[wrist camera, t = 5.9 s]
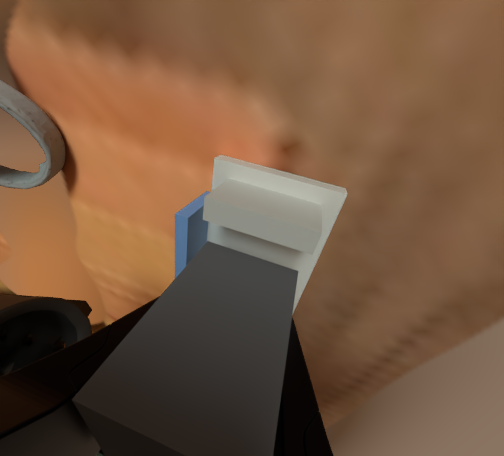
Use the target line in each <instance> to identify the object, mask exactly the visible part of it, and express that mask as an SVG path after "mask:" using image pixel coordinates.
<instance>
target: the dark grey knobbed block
mask: <svg viewBox="0 0 504 456" xmlns="http://www.w3.org/2000/svg"><path fill="white" fill-rule="evenodd" d="M297 277H298V271H297V270H294V269H291V268H288V267H285V266H282V265H279V264H276V263H273V262H270V261H267V260H264V259H261V258H258V257H255V256H252V255H249V254H246V253H242V252H239V251H236V250H233V249H230V248H227V247H224V246H221V245H218V244H215V243H212V242H209V241H207V242H206V244H205V245H204V246H203V247H202V248H201V249H200V251H199V252H198V253H197V254H196V255H195V256H194V258H193V259H192V260H191V261H190V262H189V263H188V265H187V266H186V267H185V268H184V269H183V270H182V272H181V273H180V274H179V275H178V276H177V277H176V279H175V280H174V281H173V282H172V283H171V284H170V286H169V287H168V288H167V289H166V290H165V291H164V293H163V294H162V295H161V296H160V297H159V298H158V300H157V301H156V302H155V303H154V304H153V305H152V307H151V308H150V309H149V310H148V311H147V312H146V314H145V315H144V316H143V317H142V318H141V319H140V321H139V322H138V323H137V324H136V325H135V326H134V328H133V329H132V330H131V331H130V332H129V333H128V335H127V336H126V337H125V338H124V339H123V340H122V342H121V343H120V344H119V345H118V346H117V347H116V349H115V350H114V351H113V352H112V353H111V354H110V356H109V357H108V358H107V359H106V360H105V361H104V363H103V364H102V365H101V366H100V367H99V368H98V370H97V371H96V372H95V373H94V374H93V375H92V377H91V378H90V379H89V380H88V381H87V382H86V384H85V385H84V386H83V387H82V388H81V389H80V391H79V392H78V393H77V394H76V395H75V396H74V398H73V399H72V401H73V403H74V404H75V406H76V408H77V409H78V411H79V413H80V414H81V416H82V418H83V419H84V421H85V423H86V424H87V426H88V428H89V430H90V431H91V433H92V435H93V436H94V438H95V440H96V441H97V443H98V445H99V446H100V448H101V450H102V451H103V453H104V455H105V456H273V452H274V444H275V437H276V430H277V423H278V415H279V408H280V401H281V393H282V386H283V379H284V372H285V364H286V357H287V350H288V343H289V335H290V328H291V321H292V314H293V306H294V299H295V292H296V285H297Z"/></svg>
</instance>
